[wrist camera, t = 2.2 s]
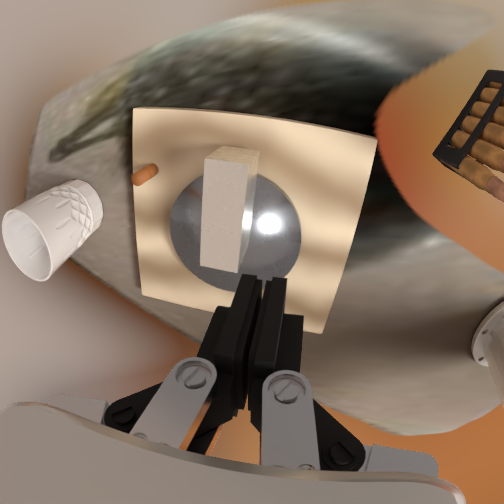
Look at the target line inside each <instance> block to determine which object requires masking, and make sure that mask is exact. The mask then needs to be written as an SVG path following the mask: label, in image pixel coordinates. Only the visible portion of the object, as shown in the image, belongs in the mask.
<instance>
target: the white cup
mask: <svg viewBox="0 0 504 504" xmlns="http://www.w3.org/2000/svg"><path fill="white" fill-rule="evenodd" d="M102 218H103V210H102V203H101V201H100V198H99V196H98V194H97V192H96V191H95V190H94V189H93V188H92V187H91V186H90V185H89V184H88V183H87V182H84V181H81V180H79V179H76V180H71V181H68V182H66V183H64V184H62V185H60V186H56V187H54V188H51V189H49V190H47V191H45V192H43V193H41V194H39V195H37V196H35V197H33V198H31V199H29V200H27V201H25V202H23V203H22V204H20V205H18V206H16V207H14V208H12V209H11V210H9V211H7V212H6V213H5V215H4V217H3V220H2V236H3V240H4V243H5V247H6V249H7V251H8V253H9V255H10V257H11V259H12V260H13V262H14V263H15V264H16V266H17V267H18V268H19V269H20V270H21V271H22V272H23V273H24V274H25V275H26V276H28V277H29V278H31V279H33V280H35V281H46V280H47V279H49V278H50V276H51V275H52V274H53V273H54V272H55V271H56V270H57V269H58V268H59V267H60V266H61V265H62V264H63V263H64V262H65V261H66V260H67V259H68V258H69V257H70V256H71V255H72V254H73V253H74V252H75V251H76V250H77V249H78V248H79V247H80V246H81V245H82V244H83V243H84V242H85V240H86V239H87V238H88V237H89V236H90V234H92V233H93V232H94V231H95V230H96V229H97V228H98V227H99V226H100V224H101V221H102Z"/></svg>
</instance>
